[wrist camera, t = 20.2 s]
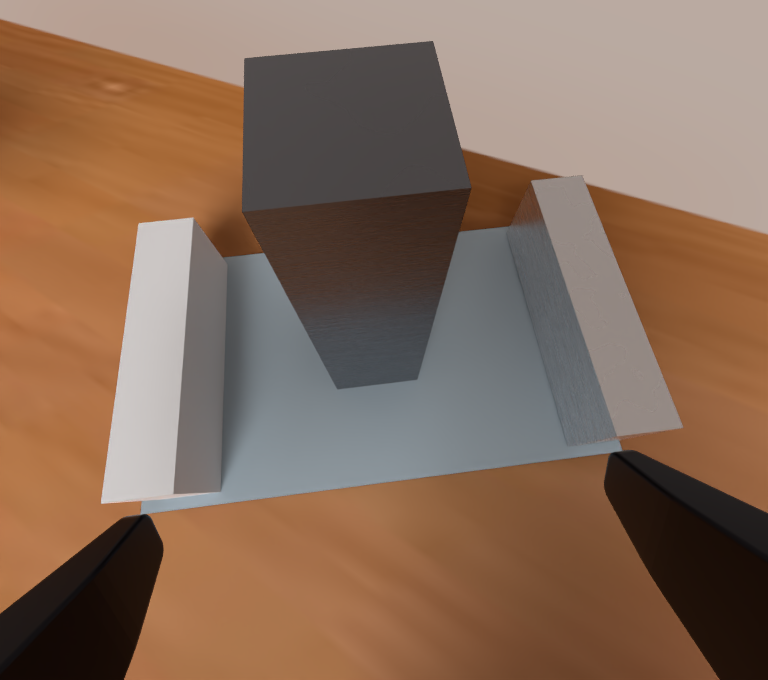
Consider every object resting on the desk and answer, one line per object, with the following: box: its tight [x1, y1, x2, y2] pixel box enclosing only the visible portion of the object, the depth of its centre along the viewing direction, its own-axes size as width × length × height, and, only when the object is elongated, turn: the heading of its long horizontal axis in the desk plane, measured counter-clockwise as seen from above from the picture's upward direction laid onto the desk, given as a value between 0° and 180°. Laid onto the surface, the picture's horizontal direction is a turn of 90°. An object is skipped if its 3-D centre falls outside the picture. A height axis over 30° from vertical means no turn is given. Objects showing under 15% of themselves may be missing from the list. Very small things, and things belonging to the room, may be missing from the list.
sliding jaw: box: [507, 176, 683, 447], centre depth 18 cm, size 2×12×4 cm, turn 7°
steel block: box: [242, 41, 471, 390], centre depth 13 cm, size 4×4×13 cm
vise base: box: [101, 218, 622, 514], centre depth 18 cm, size 22×13×5 cm, turn 97°
